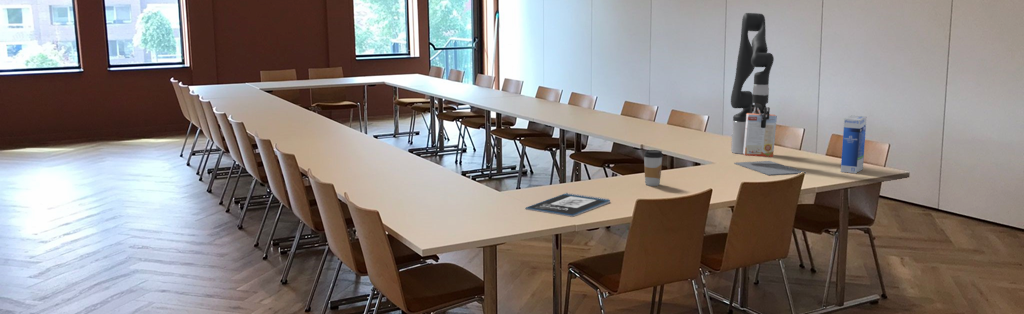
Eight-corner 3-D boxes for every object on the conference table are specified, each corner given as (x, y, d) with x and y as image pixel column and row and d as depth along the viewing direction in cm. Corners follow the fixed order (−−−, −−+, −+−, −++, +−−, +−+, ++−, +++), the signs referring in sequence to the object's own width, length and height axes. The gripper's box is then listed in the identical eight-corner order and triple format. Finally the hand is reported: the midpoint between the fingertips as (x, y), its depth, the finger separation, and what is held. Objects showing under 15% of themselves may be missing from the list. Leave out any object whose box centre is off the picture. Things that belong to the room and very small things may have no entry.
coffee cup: (657, 187, 379) (658, 153, 377) (639, 185, 384) (640, 151, 381) (664, 184, 386) (665, 150, 384) (647, 182, 390) (648, 149, 388)
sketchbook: (525, 211, 339) (525, 205, 339) (565, 197, 363) (565, 192, 363) (572, 218, 327) (572, 212, 326) (611, 203, 351) (611, 198, 351)
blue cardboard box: (847, 167, 424) (851, 115, 420) (863, 169, 420) (867, 116, 415) (840, 172, 414) (843, 118, 409) (856, 173, 409) (860, 119, 405)
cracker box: (770, 155, 435) (775, 114, 431) (773, 157, 429) (777, 115, 425) (742, 153, 436) (746, 112, 433) (744, 155, 430) (748, 113, 427)
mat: (734, 163, 436) (734, 162, 436) (769, 161, 441) (769, 160, 441) (768, 175, 405) (768, 174, 405) (806, 173, 410) (806, 172, 410)
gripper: (746, 92, 433) (744, 125, 436) (761, 95, 420) (760, 129, 422) (759, 92, 435) (758, 124, 438) (775, 94, 422) (773, 128, 424)
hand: (759, 126), depth 430 cm, fingers closed on cracker box, 7 cm apart
